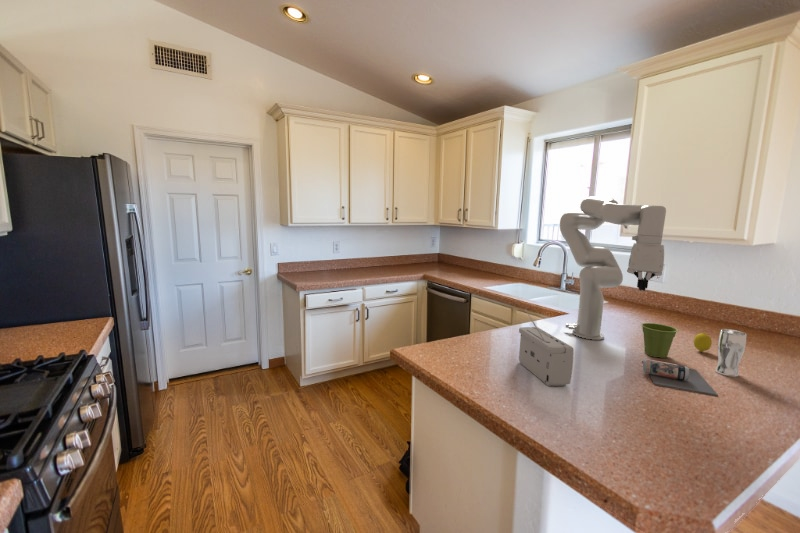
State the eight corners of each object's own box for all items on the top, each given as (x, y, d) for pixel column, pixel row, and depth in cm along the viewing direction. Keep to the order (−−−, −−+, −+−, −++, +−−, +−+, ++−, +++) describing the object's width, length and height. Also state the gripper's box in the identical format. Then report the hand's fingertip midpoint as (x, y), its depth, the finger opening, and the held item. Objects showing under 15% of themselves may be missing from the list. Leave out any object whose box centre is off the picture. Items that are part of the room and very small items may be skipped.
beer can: (645, 358, 122) (690, 366, 116) (643, 358, 126) (686, 366, 120) (643, 373, 121) (688, 382, 115) (642, 372, 125) (685, 381, 119)
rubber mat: (654, 384, 116) (654, 383, 116) (642, 362, 134) (642, 361, 134) (717, 396, 109) (718, 394, 109) (695, 371, 127) (695, 369, 127)
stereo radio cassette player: (571, 387, 112) (578, 325, 109) (547, 389, 111) (553, 326, 108) (535, 360, 133) (540, 307, 130) (515, 361, 131) (519, 308, 128)
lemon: (713, 355, 143) (716, 335, 142) (697, 353, 144) (700, 334, 143) (704, 350, 149) (707, 331, 148) (689, 348, 150) (692, 330, 149)
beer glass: (733, 370, 128) (740, 330, 126) (744, 379, 122) (752, 336, 120) (709, 367, 131) (716, 327, 128) (719, 375, 124) (726, 333, 122)
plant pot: (676, 355, 142) (680, 327, 141) (672, 363, 134) (676, 334, 132) (640, 346, 150) (644, 320, 149) (634, 354, 142) (638, 326, 140)
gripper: (626, 239, 130) (619, 289, 133) (677, 242, 124) (668, 294, 127) (623, 238, 137) (617, 285, 140) (671, 240, 131) (663, 290, 134)
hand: (641, 289), depth 133 cm, fingers closed
